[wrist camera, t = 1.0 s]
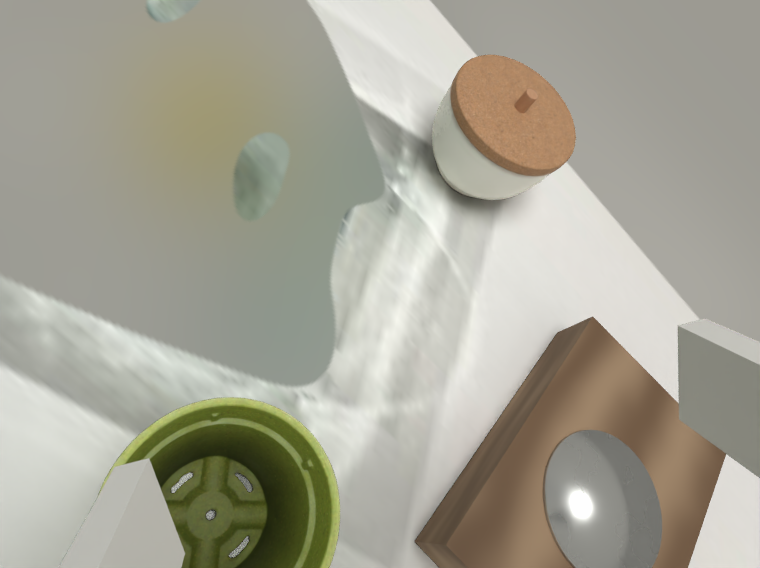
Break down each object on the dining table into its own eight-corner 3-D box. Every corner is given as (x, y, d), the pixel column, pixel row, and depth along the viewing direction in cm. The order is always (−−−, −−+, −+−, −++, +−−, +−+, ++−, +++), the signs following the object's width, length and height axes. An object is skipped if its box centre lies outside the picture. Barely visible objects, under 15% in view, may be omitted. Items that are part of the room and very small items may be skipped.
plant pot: (198, 666, 25) (214, 730, 17) (66, 524, 25) (27, 528, 18) (327, 509, 30) (382, 507, 22) (216, 392, 30) (235, 352, 23)
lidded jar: (421, 215, 41) (483, 143, 33) (404, 109, 45) (456, 22, 37) (529, 226, 45) (608, 164, 37) (504, 128, 49) (571, 53, 41)
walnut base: (414, 541, 31) (448, 545, 27) (557, 332, 41) (595, 315, 38) (578, 712, 30) (634, 739, 27) (679, 457, 41) (730, 452, 37)
